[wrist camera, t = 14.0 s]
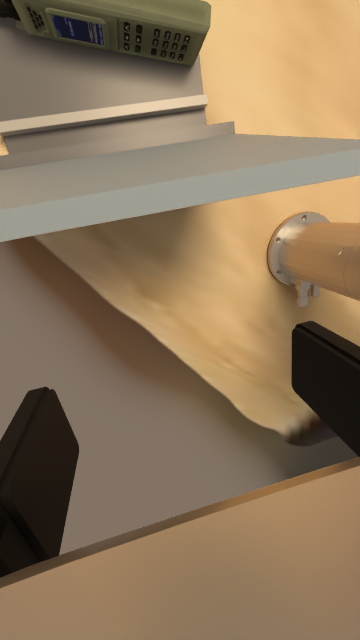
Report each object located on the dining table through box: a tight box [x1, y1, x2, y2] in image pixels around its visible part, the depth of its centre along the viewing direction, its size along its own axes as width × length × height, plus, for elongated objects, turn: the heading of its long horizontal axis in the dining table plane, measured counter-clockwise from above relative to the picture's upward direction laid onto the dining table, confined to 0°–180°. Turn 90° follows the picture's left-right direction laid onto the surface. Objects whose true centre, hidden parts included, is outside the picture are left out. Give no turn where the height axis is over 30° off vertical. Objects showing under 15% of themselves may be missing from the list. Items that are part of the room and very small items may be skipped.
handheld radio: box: [0, 0, 211, 66], centre depth 27 cm, size 7×3×25 cm
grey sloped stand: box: [0, 17, 235, 170], centre depth 28 cm, size 20×26×10 cm
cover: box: [0, 134, 360, 242], centre depth 19 cm, size 20×26×1 cm
